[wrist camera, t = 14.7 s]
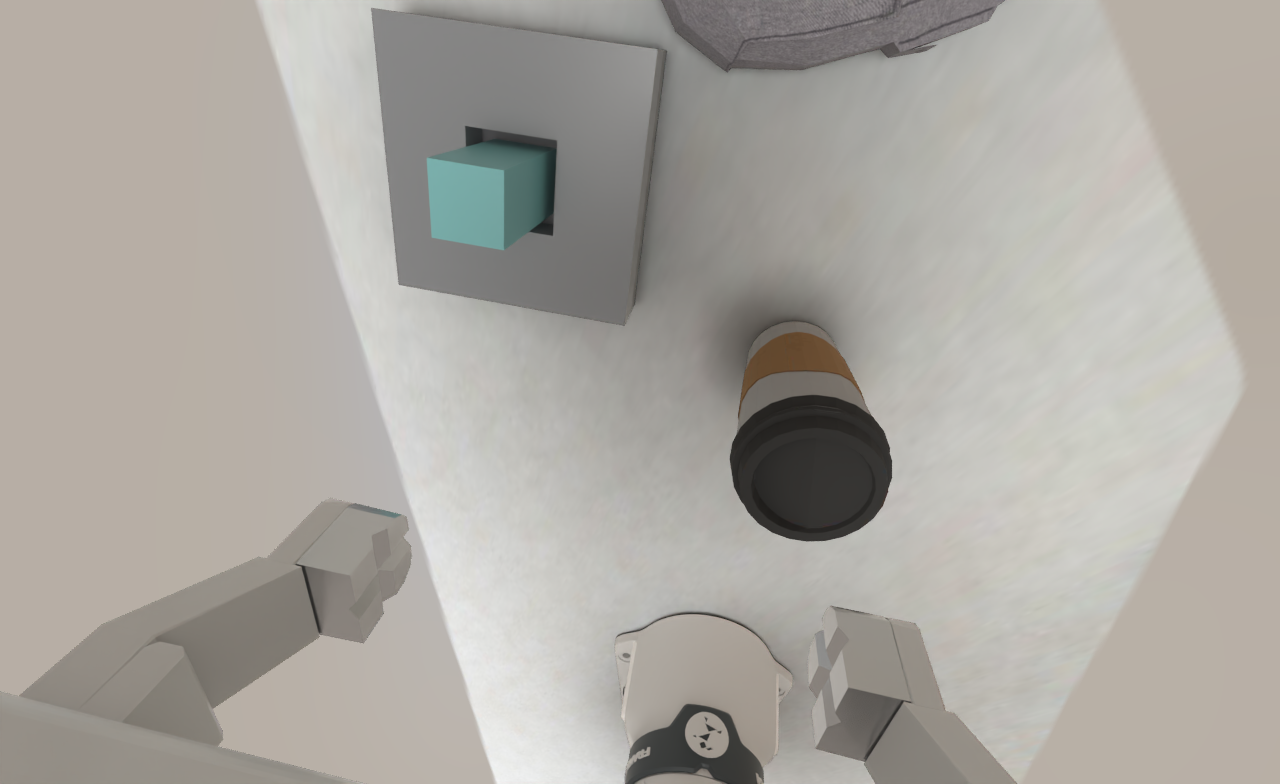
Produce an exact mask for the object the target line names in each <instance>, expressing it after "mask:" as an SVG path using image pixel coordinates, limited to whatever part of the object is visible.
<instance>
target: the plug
mask: <svg viewBox="0 0 1280 784" xmlns="http://www.w3.org/2000/svg"><path fill="white" fill-rule="evenodd" d="M556 150H557V148H550V147H544V146H538V145H532V144H526V143H519V142H513V141H507V140H501V139H492V140H489V141H485V142H481V143H478V144H474V145H471V146H467V147H463V148H460V149H456V150H453V151H449V152H445V153H442V154H438V155H435V156H431V157H428V158H427V172H428V187H429V203H430V219H431V234H432V238H437V239H442V240H448V241H454V242H459V243H465V244H471V245H476V246H482V247H488V248H493V249H499V250H505V249H506V248H508V247H509V246H510V245H512V244H513V243H514V242H516V241H517V240H518V239H520V238H521V237H522V236H524V235H525V234H526V233H528V232H529V231H530V230H532V229H533V228H534V227H536V226H537V225H538V224H540V223H541V222H542V221H544V220H545V219H546V218H548V217H549V216H550V215H552V214H553V213H554V193H555V171H556Z"/></svg>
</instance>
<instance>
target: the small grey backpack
mask: <svg viewBox="0 0 1280 784" xmlns="http://www.w3.org/2000/svg"><path fill="white" fill-rule="evenodd" d="M1004 1H1005V0H662V3H663V5H664V7H665V9H666V11H667V14H668V16H669V18H670V20H671V23H672V25H673V27H674V29H675V32H677V33H678V34H679V35H680V36H682V37H683V38H684V39H686V40H687V41H688V42H689V43H691V44H692V45H693V46H694V47H696V48H697V49H698V50H699V51H701V52H702V53H703V54H704V55H706V56H707V57H708V58H709V59H711V60H712V61H713V62H715V63H716V64H717V65H718V66H720V67H721V68H722V69H723V70H725V71H726V72H728V71H729V70H730V69H731V68H752V69H784V70H803V69H806V68H810V67H814V66H817V65H821V64H825V63H829V62H832V61H836V60H840V59H843V58H847V57H851V56H855V55H858V54H862V53H866V52H869V51H873V50H877V49H880V48H881V50H882V52H883V53H884V54H885V55H886V56H887V57H888V58H890V57H896V56H902V55H907V54H913V53H919V52H923V51H927V50H929V49H930V48H932V47H934V46H936V45H932V46H927V47H922V48H917V47H920V46H923V45H926V44H928V43H931V42H934V41H937V40H939V39H942V38H945V37H948V36H950V35H953V34H956V33H959V32H961V31H964V30H967V29H970V28H972V27H975V26H977V25H980V24H982V23H984V22H987V21H989V19H990V17H991V16H992V14H993V12H994V11H995V9H996V7H997V6H998V5H999V4H1001V3H1002V2H1004ZM915 48H917V49H915Z"/></svg>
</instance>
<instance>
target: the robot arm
mask: <svg viewBox="0 0 1280 784" xmlns="http://www.w3.org/2000/svg"><path fill="white" fill-rule="evenodd" d="M408 530H409V527H408V521H407V517H406V516H404V515H401V514H396V513H393V512H389V511H385V510H380V509H376V508H372V507H368V506H364V505H360V504H356V503H350V502H346V501H342V500H337V499H333V498H329V499H327V500H325V501H323V502H321V503H320V504H319V505H318V506H317V507H316V508H315V509H314V510H313V511H312V512H311V513H310V514H309V515H308V516H307V517H306V519H304V520H303V521H302V522H301V524H300V525H299V526H298V527H297V528H296V529H295V530H294V531H293V532H292V533H291V534H290V535H289V536H288V537H287V538H286V539H285V540H284V541H283V542H282V543H281V544H280V545H279V546H278V547H277V548H276V549H275V550H274V551H273V552H272V553H271V554H270V555H269V556H268V557H267V558H261V557H257V558H255V559H253V560H250V561H248V562H246V563H243V564H241V565H239V566H236V567H234V568H232V569H230V570H227V571H225V572H222V573H220V574H218V575H216V576H213V577H211V578H209V579H206V580H204V581H202V582H199V583H197V584H195V585H192V586H190V587H188V588H185V589H183V590H181V591H179V592H176V593H174V594H171V595H169V596H167V597H164V598H162V599H160V600H158V601H155V602H153V603H150V604H148V605H146V606H143V607H141V608H139V609H137V610H134V611H132V612H130V613H127V614H125V615H123V616H120V617H118V618H116V619H113V620H111V621H109V622H106V623H104V624H102V625H101V626H99V627H98V628H97V629H96V630H95V631H94V632H93V633H91V634H90V635H89V636H88V637H87V638H86V639H84V640H83V641H82V642H81V643H80V644H79V645H77V646H76V647H75V648H74V649H73V650H72V651H70V652H69V653H68V654H67V655H66V656H65V657H63V658H62V659H61V660H60V661H59V662H58V663H57V664H55V665H54V666H53V667H52V668H51V669H50V670H48V671H47V672H46V673H45V674H44V675H43V676H42V677H40V678H39V679H38V680H37V681H36V682H34V683H33V684H32V685H31V686H30V687H29V688H27V689H26V690H25V691H24V692H23V693H22V694H21V695H19V696H16V695H12V694H8V693H4V692H0V784H365V783H361V782H357V781H353V780H349V779H345V778H341V777H337V776H333V775H329V774H325V773H321V772H317V771H313V770H309V769H306V768H302V767H298V766H294V765H290V764H285V763H282V762H278V761H274V760H270V759H266V758H262V757H258V756H254V755H250V754H246V753H242V752H238V751H234V750H230V749H226V748H222V747H218V745H219V744H220V743H221V741H222V740H223V730H222V728H221V726H220V724H219V722H218V720H217V718H216V716H215V714H214V711H213V708H215V707H216V706H218V705H219V704H221V703H222V702H224V701H225V700H227V699H228V698H229V697H231V696H233V695H234V694H236V693H237V692H238V691H240V690H241V689H243V688H244V687H246V686H247V685H249V684H250V683H252V682H253V681H255V680H256V679H258V678H259V677H261V676H262V675H264V674H265V673H267V672H268V671H270V670H271V669H273V668H274V667H276V666H277V665H279V664H280V663H282V662H283V661H285V660H286V659H288V658H289V657H291V656H292V655H294V654H295V653H297V652H298V651H300V650H301V649H303V648H304V647H306V646H307V645H309V644H310V643H312V642H313V641H314V640H316V639H317V638H319V637H320V636H319V634H320V635H325V636H330V637H335V638H340V639H345V640H350V641H355V642H360V643H364V642H365V641H366V639H367V638H368V636H369V635H370V633H371V632H372V630H373V629H374V627H375V626H376V624H377V623H378V621H379V620H380V618H381V617H382V615H383V614H384V611H383V601H385V600H387V599H388V598H390V597H392V596H394V595H396V594H397V593H398V591H399V589H400V588H401V586H402V584H403V583H404V582H405V579H406V576H407V574H408V571H409V568H410V565H411V557H412V553H411V546H410V544H409V543H408V542H407V541H406V540H405V539H404V535H405V534H406V533H407V531H408ZM822 623H823V630H822V631H820V632H818V633H816V634H815V635H814V638H813V641H812V643H811V646H810V651H809V656H808V683H809V688H810V689H811V691H812V692H813V693H814V695H815V696H816V698H817V700H816V702H815V704H814V706H813V708H812V711H811V713H812V721H813V730H814V739H815V748H816V749H819V750H823V751H826V752H830V753H834V754H838V755H842V756H845V757H849V758H853V759H857V760H861V761H864V762H865V763H864V765H865V766H866V768H867V770H868V772H869V773H870V775H871V777H872V778H873V780H874V782H875V783H876V784H1017V783H1016V782H1015V781H1014V779H1013V778H1012V777H1011V776H1010V775H1009V774H1008V773H1007V772H1006V770H1005V769H1004V768H1003V767H1002V766H1001V765H1000V764H999V763H998V761H997V760H996V759H995V758H994V757H993V756H992V755H991V754H990V752H989V751H988V750H987V749H986V748H985V747H984V746H983V745H982V743H981V742H980V741H979V740H978V739H977V738H976V737H975V736H974V734H973V733H972V732H971V731H970V730H969V729H968V728H967V727H966V725H965V724H964V723H963V722H962V721H961V720H960V719H959V718H958V716H957V715H956V714H955V713H952V712H948V711H946V710H945V707H944V704H943V701H942V698H941V695H940V692H939V688H938V685H937V682H936V679H935V676H934V673H933V670H932V667H931V664H930V660H929V657H928V654H927V651H926V648H925V645H924V642H923V639H922V636H921V633H920V629H919V628H918V627H917V625H916V624H915V623H911V622H906V621H901V620H896V619H892V618H884V617H883V616H878V615H873V614H869V613H864V612H859V611H854V610H849V609H844V608H839V607H834V606H830V607H829V608H827V609H826V611H825V613H824V615H823V617H822ZM615 655H616V662H617V669H618V676H619V683H620V691H621V698H622V705H623V706H622V713H621V719H622V720H624V721H625V731H626V735H627V739H628V742H629V746H630V754H629V760H628V763H627V766H626V772H625V784H764V773H763V767H764V766H765V765H767V764H768V763H770V761H771V760H772V758H773V756H775V755H777V753H778V747H779V703H780V702H781V700H782V699H783V698H784V697H785V696H786V695H787V693H788V692H789V691H790V690H791V689H792V686H793V676H792V674H791V673H790V672H789V671H788V670H786V669H785V668H784V667H783V666H781V665H780V664H778V663H777V662H776V661H775V660H774V659H773V657H772V655H771V653H770V652H769V650H768V648H767V647H766V645H765V644H764V643H763V642H762V641H761V640H760V639H759V638H758V637H757V636H756V635H755V634H753V633H752V632H751V631H749V630H748V629H746V628H744V627H742V626H741V625H738V624H736V623H734V622H731V621H729V620H726V619H722V618H718V617H714V616H708V615H699V614H686V615H677V616H671V617H668V618H664V619H661V620H659V621H657V622H655V623H653V624H651V625H650V626H648V627H647V628H645V629H643V630H641V631H638V632H632V633H627V634H623V635H620V636H618V637H617V638H616V640H615Z"/></svg>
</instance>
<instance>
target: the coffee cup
mask: <svg viewBox="0 0 1280 784" xmlns="http://www.w3.org/2000/svg"><path fill="white" fill-rule="evenodd" d="M738 419H739V422H738V430H737V435H736V437H735V439H734V441H733V443H732V449H731V454H730V463H731V470H732V476H733V483H734V488H735V490H736V492H737V494H738V496H739V498H740V500H741V502H742V503H743V504H744V505H745V507H746V509H747V511H748V513H749V514H750V515H751V516H752V517H753V518H754V519H755V520H756V521H757V522H758V523H759V524H760V525H762V526H763V527H765V528H766V529H768V530H769V531H771V532H773V533H775V534H778V535H781V536H783V537H786V538H789V539H795V540H801V541H826V540H831V539H835V538H839V537H843V536H846V535H848V534H850V533H852V532H854V531H857V530H859V529H860V528H862V527H863V526H864V525H866V524H867V523H868V522H870V521H871V520H872V519H873V518H874V517H875V516H876V514H877V513H878V512H879V510H880V509H881V508H882V506H883V504H884V501H885V498H886V496H887V493H888V487H889V485H890V482H891V479H892V459H891V456H890V447H889V444H888V442H887V439H886V436H885V433H884V431H883V429H882V428H881V427H880V426H879V424H878V423H877V422H876V421H875V419H874V418H873V417H872V416H871V414H870V412H869V410H868V408H867V406H866V404H865V401H864V399H863V396H862V393H861V391H860V389H859V387H858V385H857V383H856V381H855V379H854V377H853V375H852V373H851V371H850V369H849V368H848V366H847V364H846V362H845V360H844V359H843V357H842V356H841V355H840V353H839V351H838V349H837V347H836V345H835V343H834V342H833V340H832V339H831V338H830V336H829V335H828V334H827V333H826V332H825V331H823V330H822V329H820V328H819V327H818V326H815V325H812V324H809V323H807V322H797V321H792V322H783V323H780V324H777V325H774V326H772V327H770V328H768V329H767V330H765V331H764V332H762V333H761V334H760V335H759V336H758V337H757V339H756V340H755V341H754V342H753V344H752V346H751V348H750V350H749V353H748V359H747V365H746V370H745V374H744V380H743V386H742V393H741V400H740V406H739V413H738Z"/></svg>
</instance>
